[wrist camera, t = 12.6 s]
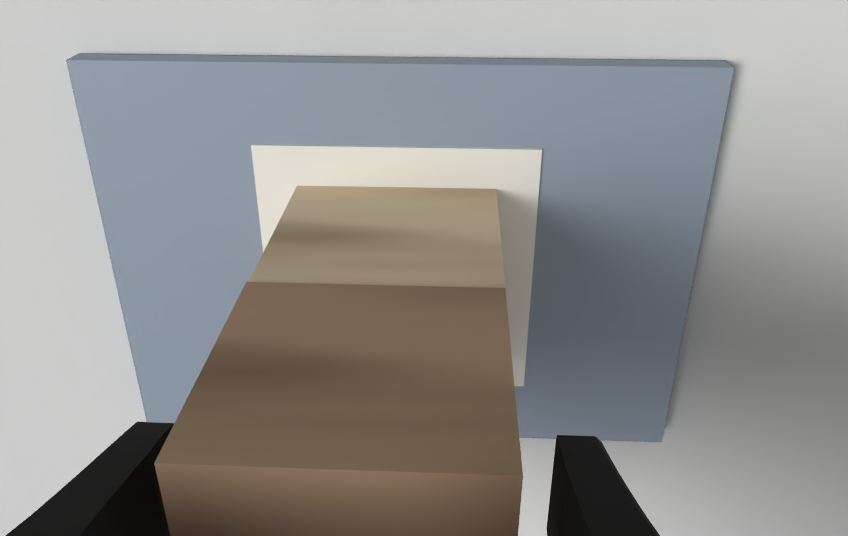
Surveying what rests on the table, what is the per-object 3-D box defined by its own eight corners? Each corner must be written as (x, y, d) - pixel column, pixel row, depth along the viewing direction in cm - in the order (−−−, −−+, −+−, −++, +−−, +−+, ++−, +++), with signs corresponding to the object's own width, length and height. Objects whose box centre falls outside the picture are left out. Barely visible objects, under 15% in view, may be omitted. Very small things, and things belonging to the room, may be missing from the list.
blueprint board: (656, 426, 21) (662, 444, 20) (155, 411, 22) (146, 428, 21) (725, 60, 16) (735, 69, 16) (78, 53, 17) (63, 61, 16)
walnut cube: (493, 482, 15) (503, 702, 11) (270, 474, 15) (204, 689, 12) (505, 288, 13) (523, 476, 9) (246, 281, 13) (154, 462, 9)
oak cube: (488, 354, 19) (494, 483, 15) (311, 350, 19) (272, 477, 15) (496, 188, 17) (505, 290, 13) (296, 185, 17) (247, 284, 13)
